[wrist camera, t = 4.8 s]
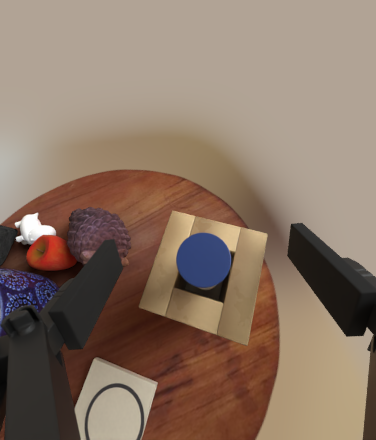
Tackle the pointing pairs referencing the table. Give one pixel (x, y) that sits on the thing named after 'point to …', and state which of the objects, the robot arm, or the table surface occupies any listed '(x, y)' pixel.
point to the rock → (6, 241)
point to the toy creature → (32, 229)
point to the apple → (50, 254)
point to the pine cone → (96, 233)
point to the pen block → (218, 296)
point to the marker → (203, 260)
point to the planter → (23, 291)
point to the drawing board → (113, 403)
